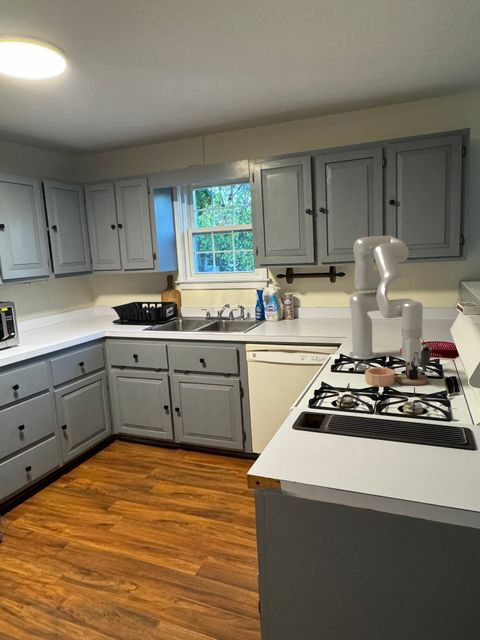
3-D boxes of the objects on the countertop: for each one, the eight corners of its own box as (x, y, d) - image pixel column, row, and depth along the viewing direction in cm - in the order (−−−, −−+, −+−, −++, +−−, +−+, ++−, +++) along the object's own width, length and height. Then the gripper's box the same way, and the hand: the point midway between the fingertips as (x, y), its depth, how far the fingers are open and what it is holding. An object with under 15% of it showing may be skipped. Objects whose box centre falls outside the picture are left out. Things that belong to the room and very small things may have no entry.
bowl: (363, 379, 186) (362, 368, 185) (390, 378, 185) (390, 366, 184) (369, 388, 175) (368, 376, 174) (398, 387, 174) (398, 375, 173)
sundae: (419, 369, 195) (420, 335, 192) (435, 371, 190) (435, 337, 187) (413, 372, 190) (413, 338, 188) (428, 375, 186) (429, 340, 183)
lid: (391, 376, 186) (391, 362, 184) (422, 375, 185) (422, 360, 184) (400, 386, 173) (400, 371, 172) (432, 385, 173) (433, 369, 171)
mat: (392, 378, 185) (392, 376, 185) (421, 376, 185) (421, 375, 184) (400, 387, 174) (400, 386, 174) (432, 386, 173) (432, 385, 173)
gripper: (396, 328, 184) (396, 371, 187) (408, 338, 168) (408, 384, 171) (414, 328, 183) (414, 370, 187) (429, 337, 167) (428, 383, 170)
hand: (411, 376), depth 179 cm, fingers closed on lid, 3 cm apart
